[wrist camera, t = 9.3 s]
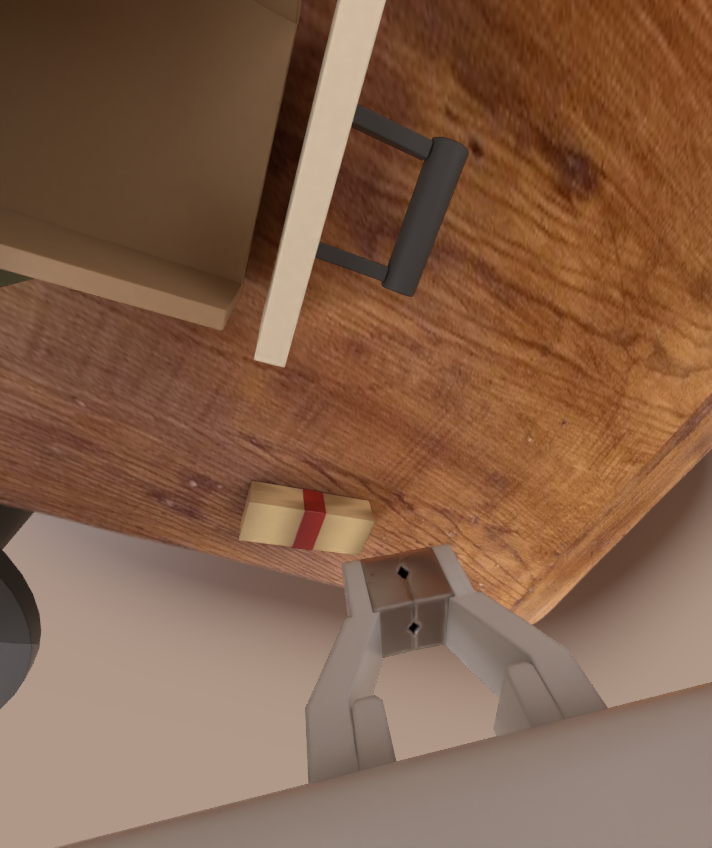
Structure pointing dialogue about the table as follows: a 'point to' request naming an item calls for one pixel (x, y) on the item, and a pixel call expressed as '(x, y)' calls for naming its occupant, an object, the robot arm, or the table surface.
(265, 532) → the block
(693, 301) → the table surface
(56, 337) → the table surface
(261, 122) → the drawer
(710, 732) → the robot arm
